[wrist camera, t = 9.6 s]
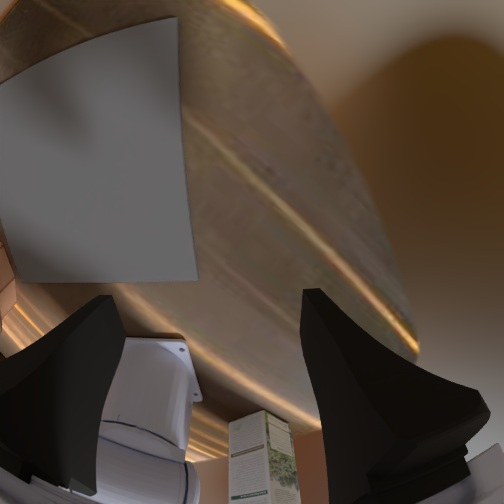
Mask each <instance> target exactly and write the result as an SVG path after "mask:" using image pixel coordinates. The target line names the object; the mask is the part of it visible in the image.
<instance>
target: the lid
mask: <svg viewBox="0 0 504 504" xmlns="http://www.w3.org/2000/svg"><path fill="white" fill-rule="evenodd" d="M1 331H2V318H1V312H0V334H1Z"/></svg>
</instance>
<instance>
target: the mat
mask: <svg viewBox="0 0 504 504" xmlns="http://www.w3.org/2000/svg"><path fill="white" fill-rule="evenodd" d="M0 219H1V222H2V226H3V229H4V233H5V236H6V240H7V243H8V246H9V249H10V252H11V255H12V258H13V260H14V263H15V266H16V269H17V271H18V274H19V276H20V279H21V281H22V283H125V282H170V281H198V279H199V273H198V267H197V260H196V253H195V246H194V238H193V231H192V223H191V214H190V206H189V197H188V188H187V178H186V168H185V157H184V145H183V132H182V118H181V101H180V80H179V44H178V18H177V17H174V18H168V19H163V20H158V21H154V22H149V23H145V24H141V25H137V26H133V27H129V28H126V29H122V30H119V31H115V32H112V33H109V34H106V35H103V36H100V37H97V38H94V39H92V40H89V41H86V42H84V43H81V44H79V45H76V46H74V47H71V48H69V49H67V50H64V51H62V52H60V53H58V54H55V55H53V56H51V57H49V58H47V59H45V60H43V61H41V62H39V63H37V64H35V65H33V66H31V67H30V68H28V69H26V70H24V71H22V72H21V73H19V74H17V75H16V76H14V77H12V78H11V79H9V80H7V81H6V82H4V83H3V84H1V85H0Z"/></svg>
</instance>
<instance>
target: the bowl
mask: <svg viewBox="0 0 504 504" xmlns="http://www.w3.org/2000/svg"><path fill="white" fill-rule="evenodd" d="M2 245H3V244H2V243H1V241H0V312H1V318H2V320H3V319H4V318H5V316H6V315H7V314H8V313H9V311H10V310H11V309H12V307H13V306H14V305H15V303H16V286H15V278H14V273H13V271H12V268H11V266H10V263H9V260H8V257H7V254H6V251H5V248H4V247H3V246H2Z"/></svg>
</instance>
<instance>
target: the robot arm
mask: <svg viewBox="0 0 504 504" xmlns="http://www.w3.org/2000/svg"><path fill="white" fill-rule="evenodd" d="M126 335H127V334H126V332H125V329H124V327H123V324H122V322H121V319H120V316H119V314H118V311H117V308H116V305H115V303H114V300H113V297H112V295H99V296H97V297H95V298H94V299H92V300H91V301H89V302H88V303H87V304H85V305H84V306H83V307H81V308H80V309H79V310H77V311H76V312H75V313H73V314H72V315H71V316H69V317H68V318H67V319H66V320H64V321H63V322H62V323H60V324H59V325H58V326H56V327H55V328H54V329H52V330H51V331H50V332H48V333H47V334H46V335H44V336H43V337H41V338H40V339H39V340H37V341H36V342H34V343H33V344H31V345H29V346H28V347H26V348H25V349H23V350H21V351H19V352H18V353H16V354H14V355H12V356H10V357H8V358H6V359H4V360H2V361H0V504H198V503H199V496H200V479H199V475H198V472H197V471H196V469H195V468H194V465H193V464H192V463H191V462H189V461H186V460H185V454H186V449H187V446H188V440H189V432H190V423H191V415H192V407H193V402H200V401H202V394H201V391H200V387H199V384H198V381H197V377H196V374H195V371H194V367H193V364H192V360H191V356H190V353H189V349H188V345H187V342H186V341H185V340H183V339H154V338H130V337H126ZM300 338H301V345H302V350H303V356H304V359H305V363H306V366H307V370H308V373H309V377H310V380H311V384H312V387H313V391H314V394H315V398H316V401H317V405H318V409H319V413H320V420H321V426H322V432H323V439H324V447H325V455H326V465H327V476H328V490H329V504H504V453H503V451H502V449H501V447H500V445H499V443H496V444H494V445H493V446H491V447H490V448H489V449H487V450H485V451H484V452H482V453H481V454H479V455H477V456H476V457H474V458H473V459H471V460H470V461H468V462H467V463H466V461H465V458H464V456H465V455H466V454H468V450H467V447H466V445H465V444H466V443H467V442H468V441H469V440H470V439H471V438H472V437H473V436H474V435H476V433H478V432H479V431H480V429H482V427H483V426H484V425H485V424H486V423H487V421H488V420H489V418H490V413H491V412H490V410H489V409H488V407H487V405H486V403H485V402H484V400H483V398H482V397H481V395H480V393H479V391H478V390H475V389H472V388H469V387H466V386H463V385H460V384H456V383H454V382H451V381H448V380H446V379H444V378H441V377H439V376H437V375H434V374H432V373H430V372H428V371H426V370H424V369H422V368H420V367H418V366H416V365H414V364H412V363H411V362H409V361H407V360H405V359H404V358H402V357H400V356H399V355H397V354H396V353H394V352H393V351H391V350H390V349H388V348H387V347H385V346H384V345H382V344H381V343H380V342H378V341H377V340H376V339H374V338H373V337H372V336H370V335H369V334H368V333H367V332H366V331H364V330H363V329H362V328H361V327H360V326H358V325H357V324H356V323H355V322H354V321H353V320H352V319H351V318H350V317H348V316H347V315H346V314H345V313H344V312H343V311H342V310H341V309H340V308H339V307H338V306H337V305H336V304H335V303H334V302H333V301H332V300H331V299H330V298H329V297H328V296H327V295H326V294H325V293H324V292H323V291H322V290H321V289H320V288H314V289H303V296H302V309H301V321H300ZM182 348H184V349H182Z"/></svg>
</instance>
